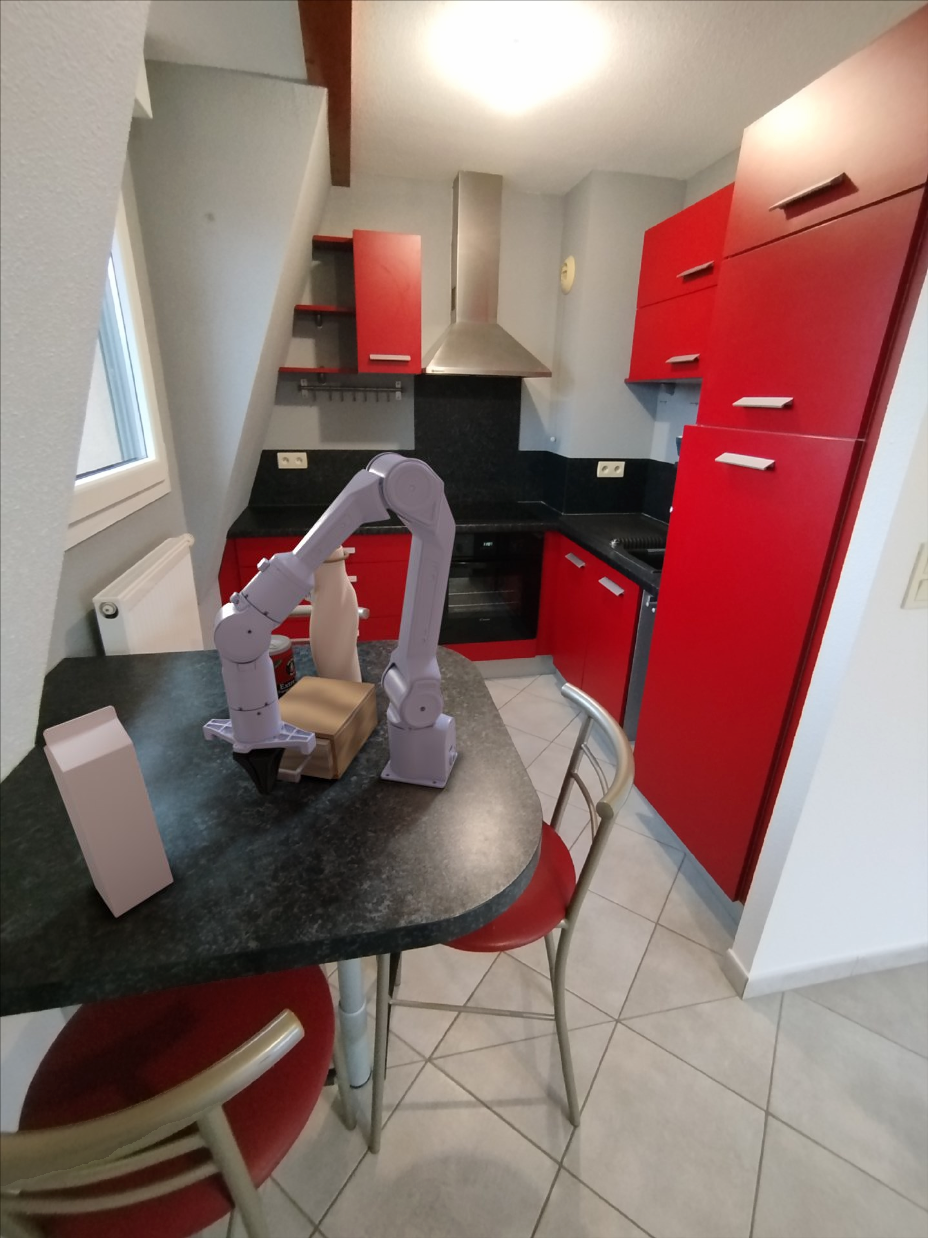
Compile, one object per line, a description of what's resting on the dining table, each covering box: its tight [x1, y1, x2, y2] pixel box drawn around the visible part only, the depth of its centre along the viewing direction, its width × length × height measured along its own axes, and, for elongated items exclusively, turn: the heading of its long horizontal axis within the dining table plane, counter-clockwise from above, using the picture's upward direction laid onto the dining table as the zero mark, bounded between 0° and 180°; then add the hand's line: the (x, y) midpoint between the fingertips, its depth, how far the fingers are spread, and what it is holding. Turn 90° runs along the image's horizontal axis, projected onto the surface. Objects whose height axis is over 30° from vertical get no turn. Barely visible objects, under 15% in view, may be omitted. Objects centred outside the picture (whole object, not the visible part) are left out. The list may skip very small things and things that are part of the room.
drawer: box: [277, 738, 334, 784], centre depth 78 cm, size 18×11×6 cm, turn 166°
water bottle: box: [304, 544, 363, 683], centre depth 96 cm, size 10×9×28 cm
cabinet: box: [278, 675, 379, 780], centre depth 82 cm, size 15×13×8 cm
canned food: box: [268, 634, 298, 700], centre depth 95 cm, size 8×8×11 cm
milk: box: [42, 705, 174, 919], centre depth 55 cm, size 6×6×22 cm
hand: (268, 789), depth 70 cm, fingers closed, pressing on drawer
